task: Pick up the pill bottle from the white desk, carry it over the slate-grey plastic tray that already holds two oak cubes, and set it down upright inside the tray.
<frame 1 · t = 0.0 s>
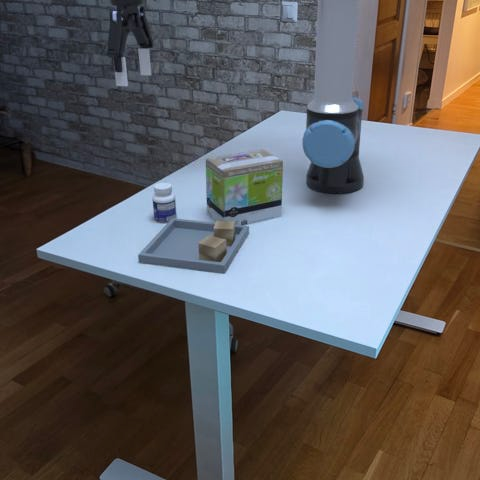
hand: (134, 80, 140), 28 cm above the table, fingers open, 13 cm apart
tray: (196, 249, 119), on the table
pill bottle: (165, 221, 132), on the table
oak cube B: (213, 259, 114), point 1 cm above the table, touching tray
tea box: (244, 219, 133), on the table
oak cube A: (224, 241, 121), point 1 cm above the table, touching tray
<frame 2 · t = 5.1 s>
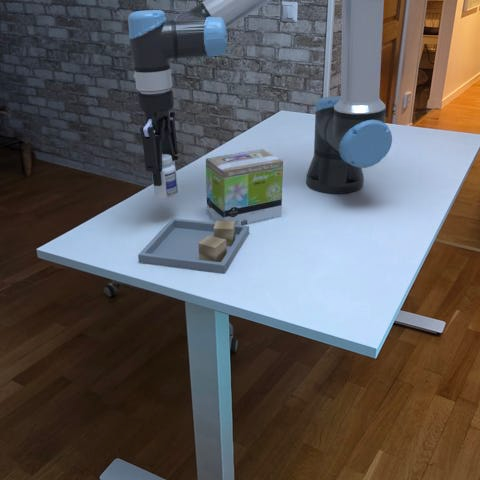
hand: (166, 192, 129), 7 cm above the table, fingers closed on pill bottle, 5 cm apart
pill bottle: (166, 194, 129), point 7 cm above the table, touching gripper
everything else where it was.
when the fingers open (2 cm above the table, at t = 10.6 s): pill bottle stays where it is, resting on tray.
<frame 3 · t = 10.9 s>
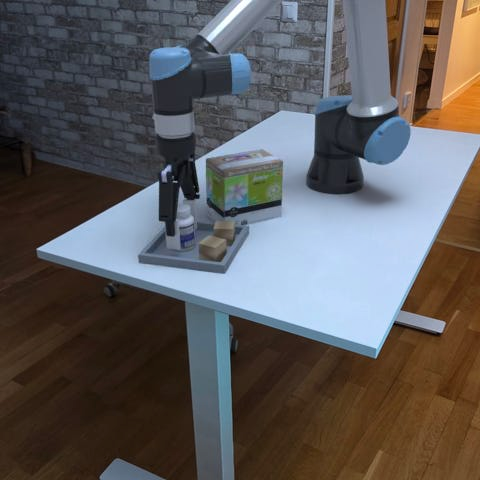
hand: (182, 237, 119), 3 cm above the table, fingers open, 9 cm apart
pill bottle: (183, 246, 119), resting on tray
everything else where it was.
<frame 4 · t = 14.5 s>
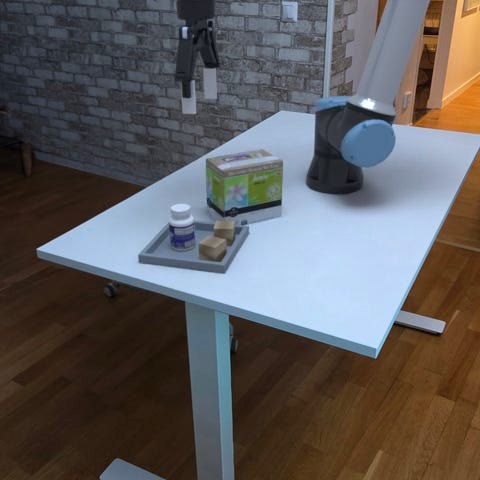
hand: (200, 105, 120), 27 cm above the table, fingers open, 13 cm apart
nothing on the table moved.
at the end: pill bottle inside the target area on the tray (2.9 cm from its centre), point 0.4 cm above the tray's base; pill bottle tilted 0°; the gripper is holding nothing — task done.
